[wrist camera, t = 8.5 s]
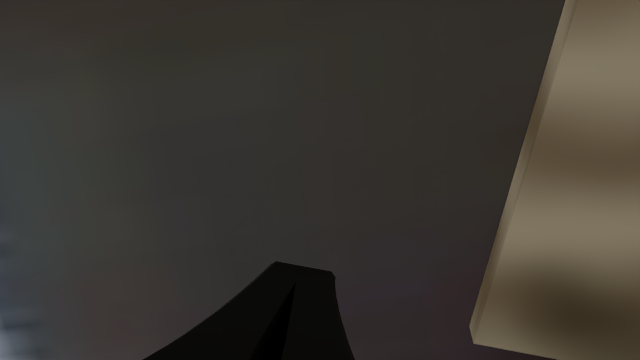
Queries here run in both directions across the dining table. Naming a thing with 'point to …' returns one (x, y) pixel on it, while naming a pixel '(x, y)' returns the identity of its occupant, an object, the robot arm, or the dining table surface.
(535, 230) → the board
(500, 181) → the dining table surface
